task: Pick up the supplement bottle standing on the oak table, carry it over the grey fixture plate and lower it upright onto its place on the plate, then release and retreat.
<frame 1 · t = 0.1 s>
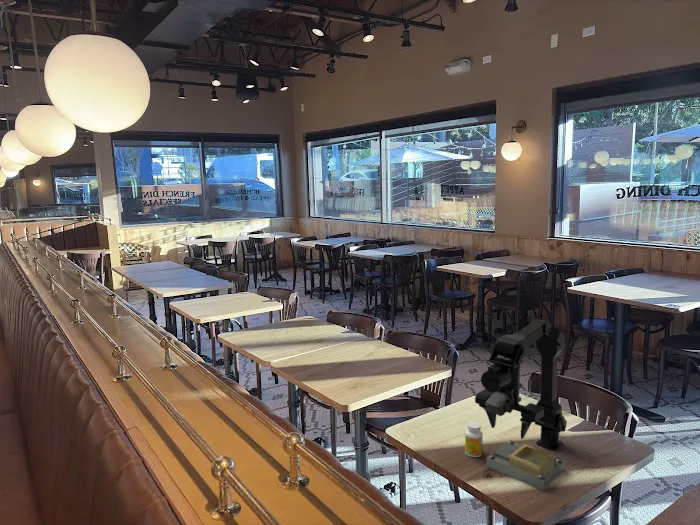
hand: (507, 432, 148), 15 cm above the table, fingers open, 9 cm apart
grey fixture plate: (525, 468, 156), on the table
supplement bottle: (473, 453, 165), on the table
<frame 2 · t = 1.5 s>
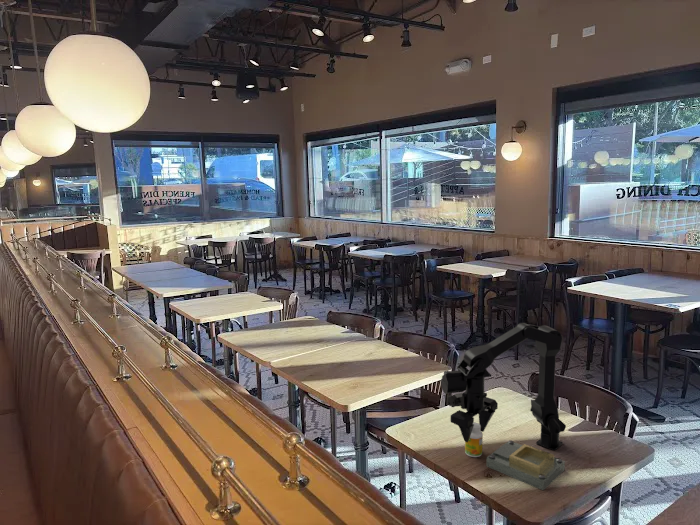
hand: (474, 436, 164), 6 cm above the table, fingers open, 9 cm apart
nothing on the table moved.
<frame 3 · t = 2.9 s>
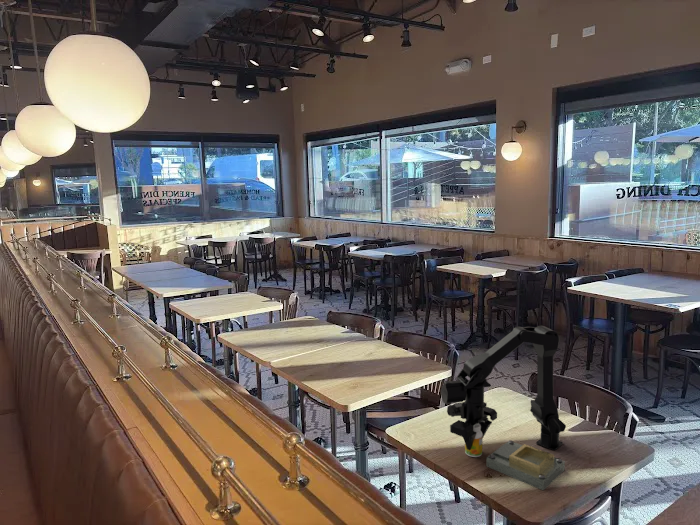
hand: (473, 445, 165), 3 cm above the table, fingers closed on supplement bottle, 5 cm apart
supplement bottle: (473, 453, 165), on the table, touching gripper
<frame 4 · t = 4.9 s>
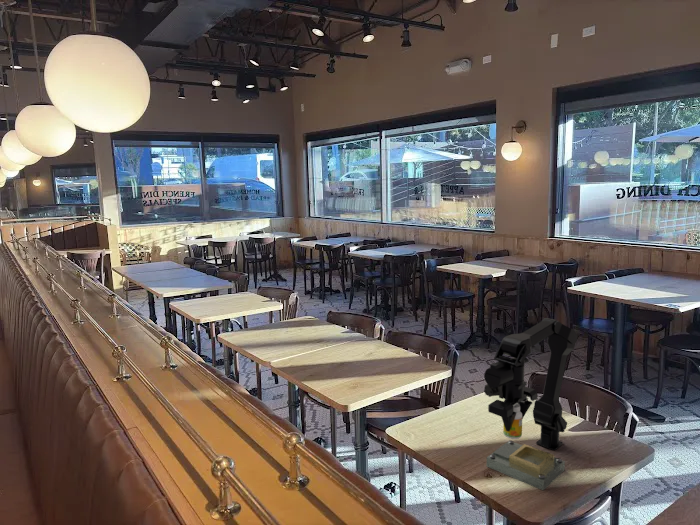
hand: (512, 427, 156), 12 cm above the table, fingers closed on supplement bottle, 5 cm apart
supplement bottle: (512, 435, 157), point 9 cm above the table, touching gripper
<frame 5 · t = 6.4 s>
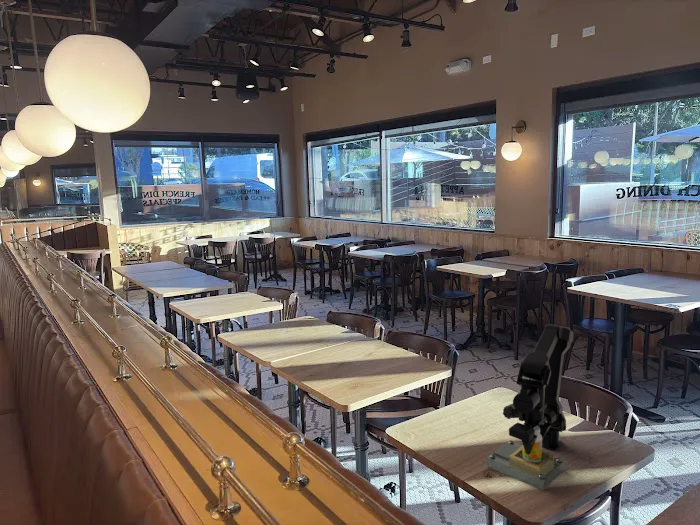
hand: (532, 450, 154), 7 cm above the table, fingers closed on supplement bottle, 5 cm apart
supplement bottle: (531, 458, 154), point 4 cm above the table, touching gripper
when the fingers open (6 cm above the table, at t = 7.3 s): supplement bottle stays where it is, resting on grey fixture plate.
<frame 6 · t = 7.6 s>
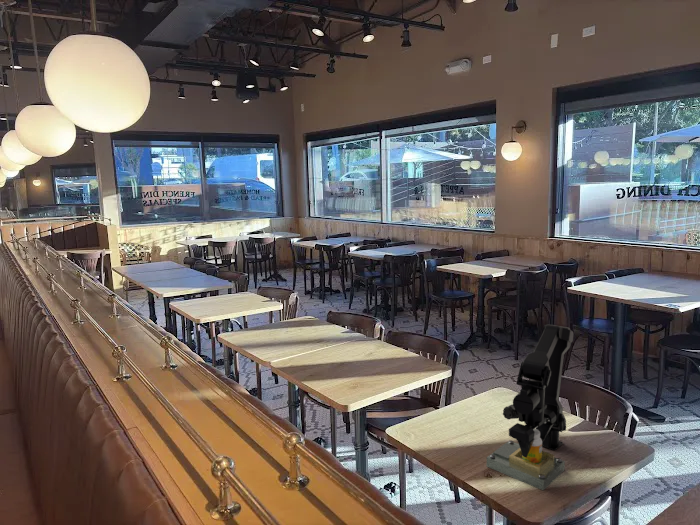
hand: (532, 450, 154), 6 cm above the table, fingers open, 9 cm apart
supplement bottle: (531, 462, 154), point 3 cm above the table, touching grey fixture plate
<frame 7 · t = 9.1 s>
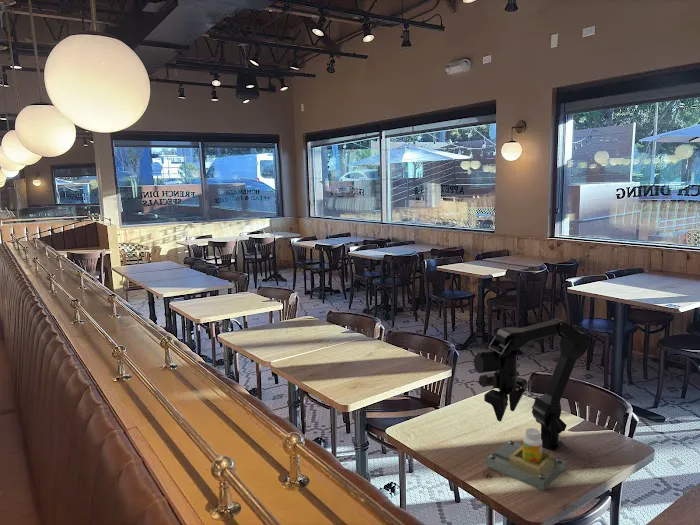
hand: (505, 415, 163), 13 cm above the table, fingers open, 9 cm apart
nothing on the table moved.
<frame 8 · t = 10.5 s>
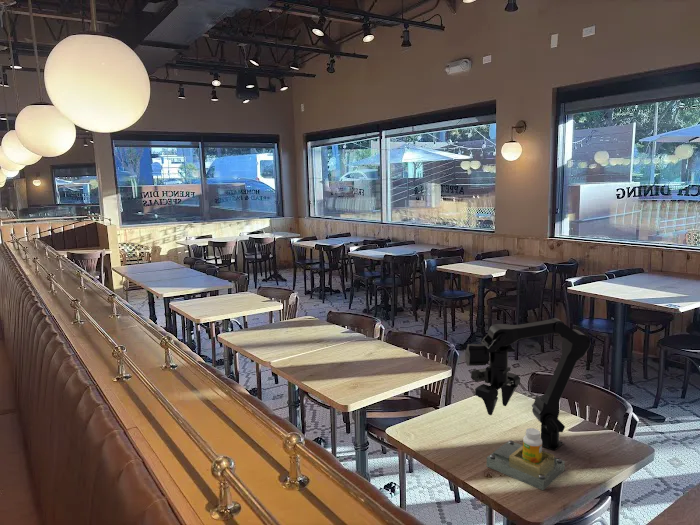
hand: (497, 410, 167), 12 cm above the table, fingers open, 9 cm apart
nothing on the table moved.
at the end: supplement bottle 0.1 cm from the target spot on the grey fixture plate, point 2.8 cm above the grey fixture plate's base; supplement bottle tilted 0°; the gripper is holding nothing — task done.
